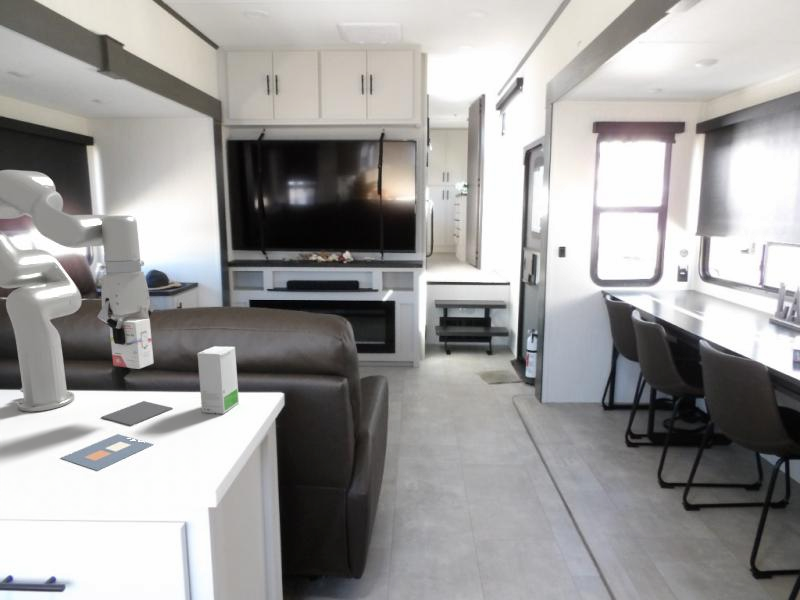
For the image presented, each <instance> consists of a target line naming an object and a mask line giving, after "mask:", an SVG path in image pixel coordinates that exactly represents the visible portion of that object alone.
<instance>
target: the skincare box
mask: <svg viewBox="0 0 800 600" xmlns="http://www.w3.org/2000/svg"><path fill="white" fill-rule="evenodd" d="M196 355H197V362H198V377H199V387H200V388H199V390H200V400H201V401H200V404H201V413H204V414H205V413H206V414H215V413H216V414H217V415H218V414H220V415H223V414H225V413H228V412H229V411H230V410H232V409H233V408H234V407H236V406H238V404H239V402H240V399H239V384H238V373H237V372H238V370H237V369H238V368H237V356H236V347H235V346H212V347H209V348H206V349H204V350H202V351H200V352H198V353H196ZM216 414H215V415H216Z"/></svg>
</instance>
